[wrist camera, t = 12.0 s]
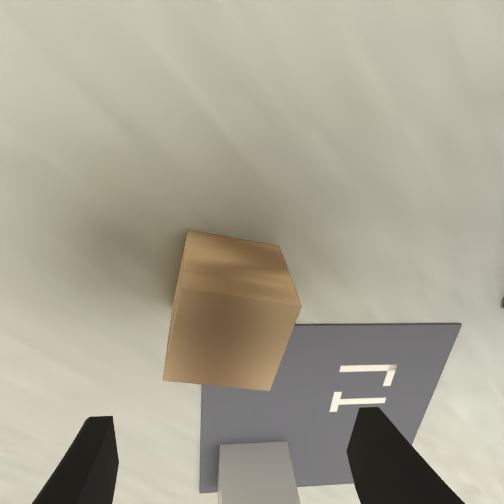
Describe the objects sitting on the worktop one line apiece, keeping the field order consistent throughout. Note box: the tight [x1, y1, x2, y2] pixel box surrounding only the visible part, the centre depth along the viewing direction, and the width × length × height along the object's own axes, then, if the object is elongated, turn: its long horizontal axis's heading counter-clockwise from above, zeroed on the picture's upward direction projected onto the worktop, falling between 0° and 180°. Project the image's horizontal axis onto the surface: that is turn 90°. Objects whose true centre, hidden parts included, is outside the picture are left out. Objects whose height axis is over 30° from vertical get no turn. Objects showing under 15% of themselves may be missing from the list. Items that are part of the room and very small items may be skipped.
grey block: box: [218, 441, 300, 504], centre depth 24 cm, size 4×4×4 cm
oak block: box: [163, 230, 302, 391], centre depth 17 cm, size 4×4×5 cm
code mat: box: [200, 324, 462, 493], centre depth 24 cm, size 15×15×1 cm
